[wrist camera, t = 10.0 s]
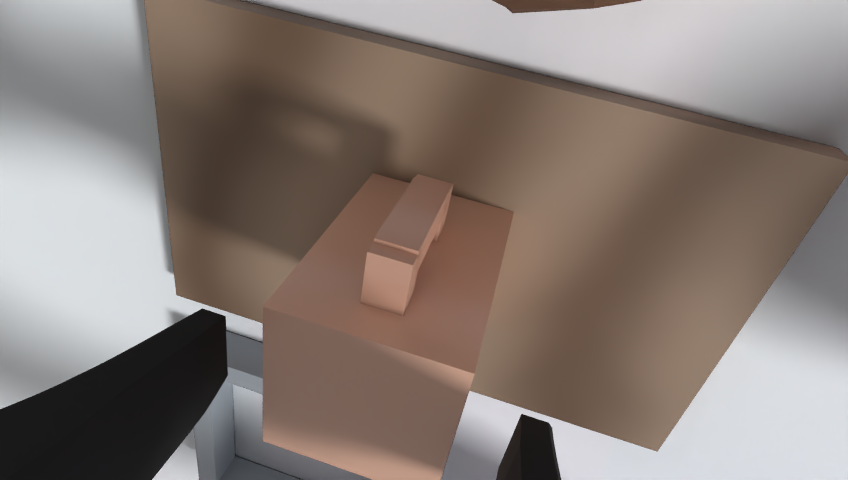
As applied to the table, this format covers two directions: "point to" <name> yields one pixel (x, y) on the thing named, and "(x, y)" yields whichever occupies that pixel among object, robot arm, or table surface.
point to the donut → (556, 4)
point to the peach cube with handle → (383, 330)
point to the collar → (231, 418)
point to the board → (484, 198)
